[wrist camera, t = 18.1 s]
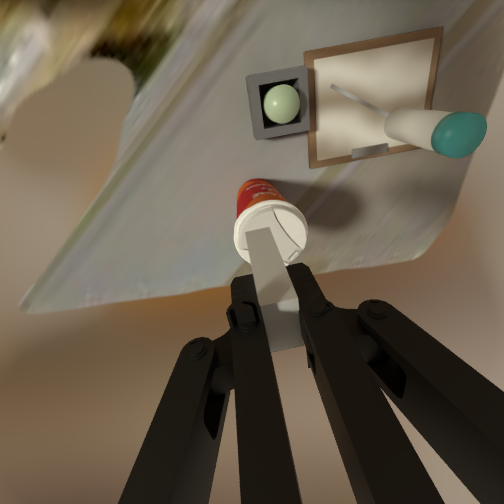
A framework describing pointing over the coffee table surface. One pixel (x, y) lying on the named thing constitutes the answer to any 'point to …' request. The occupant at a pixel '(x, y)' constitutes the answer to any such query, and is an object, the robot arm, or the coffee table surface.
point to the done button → (281, 103)
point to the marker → (437, 130)
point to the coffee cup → (269, 219)
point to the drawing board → (366, 93)
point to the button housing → (253, 83)
